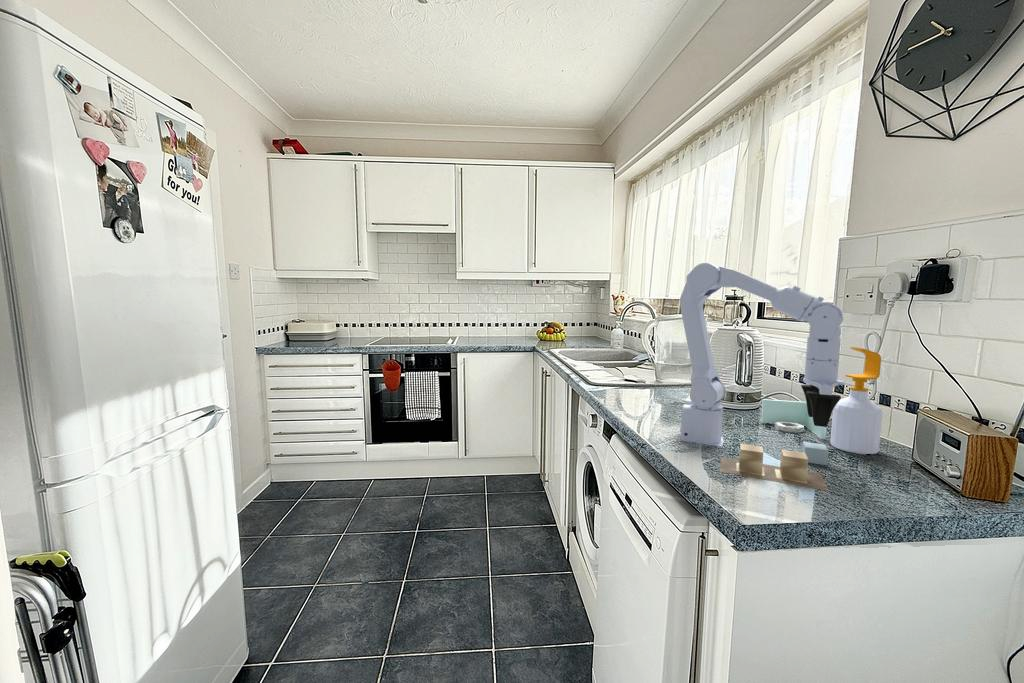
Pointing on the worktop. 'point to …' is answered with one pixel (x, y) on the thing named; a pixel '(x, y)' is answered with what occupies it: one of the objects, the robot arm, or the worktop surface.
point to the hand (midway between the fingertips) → (817, 421)
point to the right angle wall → (790, 417)
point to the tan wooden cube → (794, 465)
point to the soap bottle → (858, 413)
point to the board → (773, 474)
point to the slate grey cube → (815, 453)
